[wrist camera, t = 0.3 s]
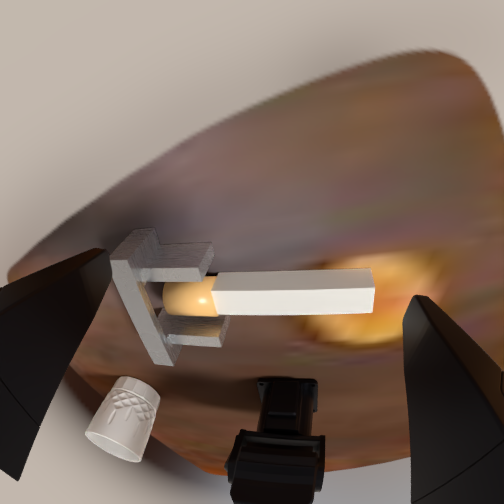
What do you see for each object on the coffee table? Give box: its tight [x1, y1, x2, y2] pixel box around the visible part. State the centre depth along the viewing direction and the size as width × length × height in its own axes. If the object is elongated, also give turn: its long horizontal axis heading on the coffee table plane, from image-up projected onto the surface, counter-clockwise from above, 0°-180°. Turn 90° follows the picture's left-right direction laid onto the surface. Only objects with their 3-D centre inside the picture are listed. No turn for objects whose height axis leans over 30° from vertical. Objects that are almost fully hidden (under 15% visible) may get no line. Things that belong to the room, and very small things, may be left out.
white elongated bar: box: [163, 268, 375, 317], centre depth 24 cm, size 16×3×3 cm, turn 98°
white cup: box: [85, 376, 160, 462], centre depth 36 cm, size 8×8×10 cm
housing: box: [109, 228, 231, 366], centre depth 25 cm, size 11×6×5 cm, turn 8°
